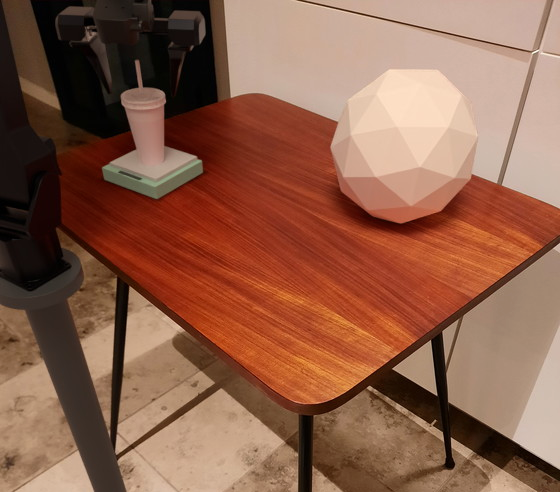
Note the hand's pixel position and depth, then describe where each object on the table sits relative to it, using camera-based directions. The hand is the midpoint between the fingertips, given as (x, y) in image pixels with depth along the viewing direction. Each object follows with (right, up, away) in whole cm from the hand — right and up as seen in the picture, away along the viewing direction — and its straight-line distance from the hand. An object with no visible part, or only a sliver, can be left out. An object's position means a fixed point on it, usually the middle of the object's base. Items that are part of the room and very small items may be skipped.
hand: (142, 94), depth 80 cm
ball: (+36, -16, +3) cm, 40 cm away
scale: (0, -9, +9) cm, 12 cm away
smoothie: (0, -7, +7) cm, 10 cm away
